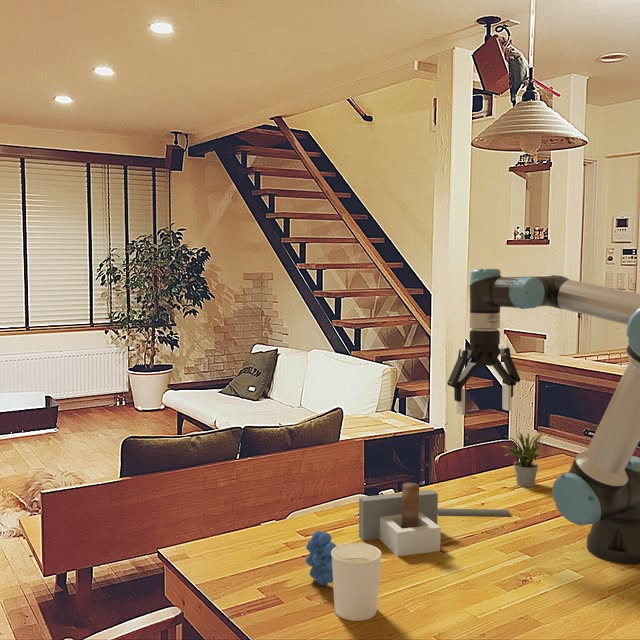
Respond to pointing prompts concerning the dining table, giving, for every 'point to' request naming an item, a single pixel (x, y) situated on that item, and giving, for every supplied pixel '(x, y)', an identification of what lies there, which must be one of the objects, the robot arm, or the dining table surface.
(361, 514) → the wall
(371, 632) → the dining table surface
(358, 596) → the candle holder
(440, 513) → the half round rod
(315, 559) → the grapes
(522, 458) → the house plant
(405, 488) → the dowel
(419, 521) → the white square open box
